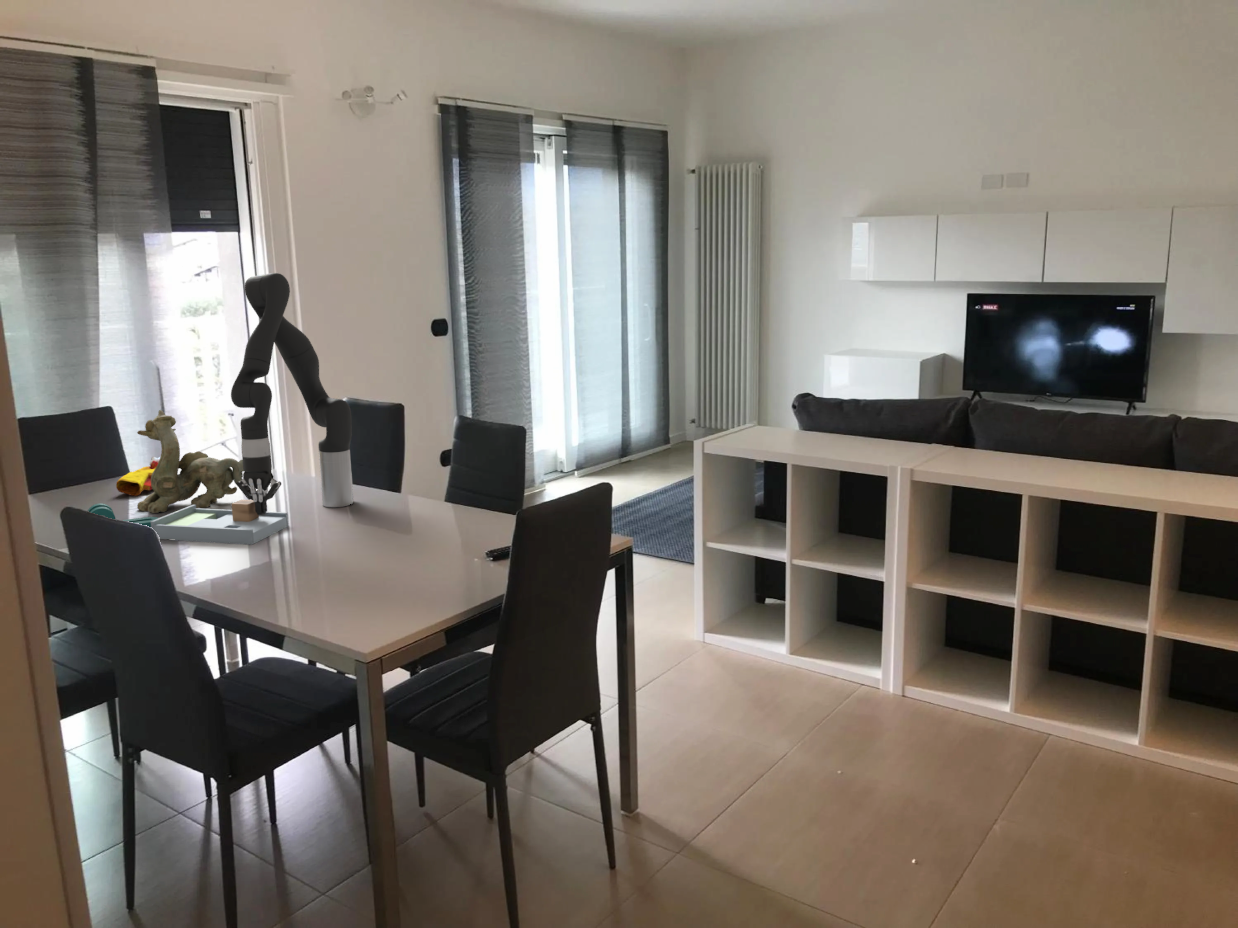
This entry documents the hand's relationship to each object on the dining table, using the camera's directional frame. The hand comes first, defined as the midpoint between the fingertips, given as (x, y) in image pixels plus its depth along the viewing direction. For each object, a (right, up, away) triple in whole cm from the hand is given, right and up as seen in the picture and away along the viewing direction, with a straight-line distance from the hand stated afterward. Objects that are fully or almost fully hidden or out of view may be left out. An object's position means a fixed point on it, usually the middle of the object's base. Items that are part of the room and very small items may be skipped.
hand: (261, 514), depth 279 cm
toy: (-55, +6, +56) cm, 79 cm away
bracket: (-40, -5, +3) cm, 40 cm away
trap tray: (-10, -5, -1) cm, 11 cm away
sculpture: (-31, +1, +30) cm, 43 cm away
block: (-5, -1, +1) cm, 5 cm away
